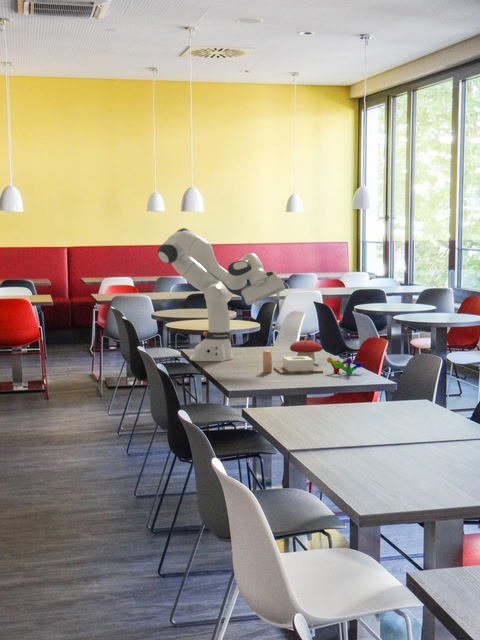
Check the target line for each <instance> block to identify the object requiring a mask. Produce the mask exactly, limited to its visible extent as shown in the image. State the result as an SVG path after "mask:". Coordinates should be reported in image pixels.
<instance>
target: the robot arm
mask: <svg viewBox="0 0 480 640" xmlns="http://www.w3.org/2000/svg"><path fill="white" fill-rule="evenodd" d="M156 254H157V257H158V259H159V260H160V261H161V262H162V263H164V264H165V265H170V264H171V265H172V267H173V269H174V270H175V271H176V272H177V274H179V275H180V276H181V277H182V278H183V279H185V280H186V282H188V284H190V285H191V286H192V287H193V288H195V289H197V290H198V291H200V292H202V293H203V294H204V299H205V305H206V310H207V318H208V321H207V322H208V331H203V333H202V335H203V336H204V339H203V340H202V341H201V342H199V343H198V344H197V345H195V347H194V350H193V355H190V356H189V360H190V361H193V362H225V361H229V360H233V359H234V356H233V352H232V344H231V342H232V332H231V315H230V313H229V308H228V302H230V300H231V299H232V297H233V294H234V295H239V294H241V296H242V297H243V299H244V302H245V303H246V305H247V306H250V305H253V304H254V305H255V306H257V308H258V309H261V308H263V307H262V304H261V303H260V302H259V301H262V300H265V299H267V298H270V297H271V296H274V295H276V296H275V299H276V301H277V302H278V301H280V300H281V299H280V295H281V292H283V291H285V289H286V287H285V284H284V282H283V280H282V279H281V277H280V276H279V275H278V274H277V272H276V271H274V270H272V271H265V269H264V265H263V263H262V261H261V260H260V258H259V256H258V255H257V254H255V253H252V252H251V253H246V254H245V255H243V256H242V258H241V259H239V260H236V261H233V262H231V263H229V265H228V267H227V270H226V269H225V268H223V267H222V266H221V265H220V264H219V263H218V261H217V258H216V256H215V253H214V249H213V245H211V244H210V242H209V241H208V240H206V239H205V238H203V237H202V236H200V235H199V234H196V233H194V232H192V231H191V230H189V229H187V228H185V227H183V228H179V229H178V230H176V232H175V233H173V234H171V235H170V236H169V237H168V238H167V239H166V240H165V241H164V242H163V243H162V244H161V245H160V246H159V247H158V248H157V251H156ZM248 280H249V282H250V285H248ZM258 302H259V303H258Z"/></svg>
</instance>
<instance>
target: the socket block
mask: <svg viewBox="0 0 480 640" xmlns="http://www.w3.org/2000/svg"><path fill="white" fill-rule="evenodd" d="M314 363H315V361H314V360H313V359H312V358H310V357H308V356H282V367H283V368H285V369H286V370H287V371H311V370H314V366H315V364H314Z"/></svg>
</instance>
